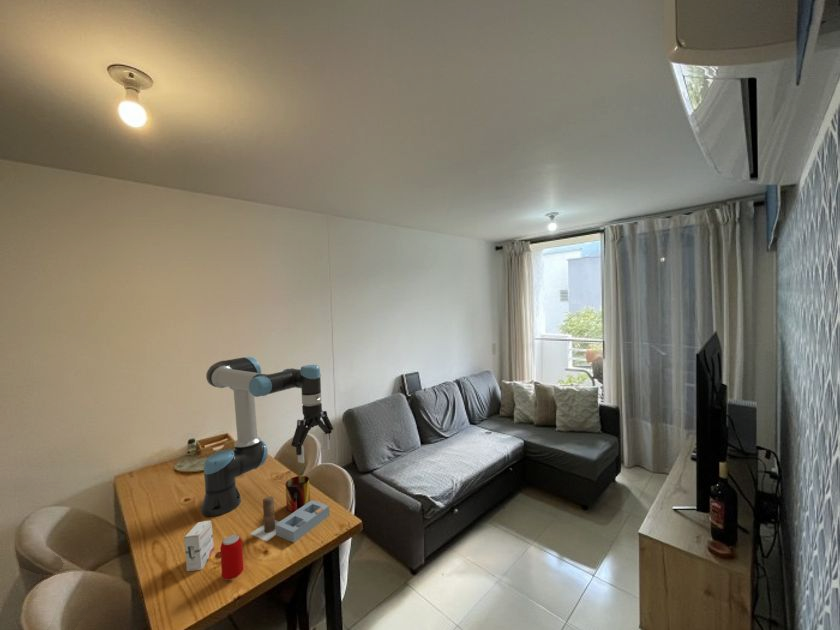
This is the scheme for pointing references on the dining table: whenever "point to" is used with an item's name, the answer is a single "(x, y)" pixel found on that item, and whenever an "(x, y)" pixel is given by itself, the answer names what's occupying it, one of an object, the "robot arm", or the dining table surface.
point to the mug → (297, 493)
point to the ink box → (198, 545)
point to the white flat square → (262, 535)
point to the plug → (268, 514)
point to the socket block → (302, 521)
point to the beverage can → (231, 557)
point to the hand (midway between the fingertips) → (314, 455)
